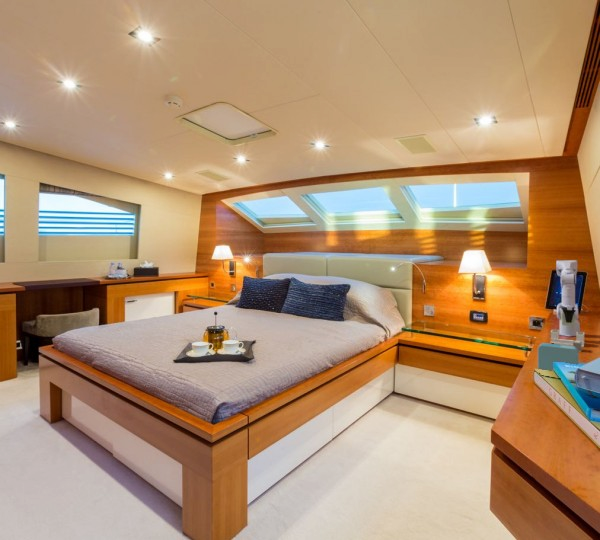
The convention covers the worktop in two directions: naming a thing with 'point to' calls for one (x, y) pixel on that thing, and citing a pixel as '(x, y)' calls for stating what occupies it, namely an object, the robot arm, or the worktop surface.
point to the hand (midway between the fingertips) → (568, 321)
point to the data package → (556, 355)
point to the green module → (563, 320)
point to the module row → (556, 340)
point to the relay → (578, 345)
